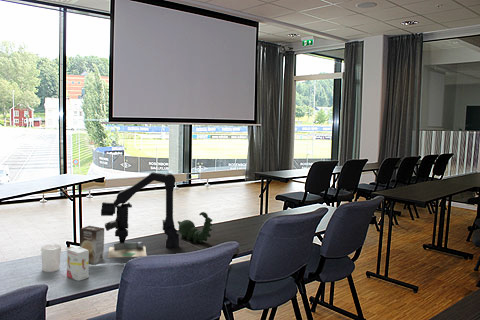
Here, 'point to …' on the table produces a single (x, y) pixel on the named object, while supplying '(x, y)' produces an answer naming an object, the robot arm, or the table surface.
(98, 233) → the coffee box
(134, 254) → the dial board
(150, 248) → the table surface
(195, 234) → the toy figurine
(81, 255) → the ink box
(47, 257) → the white cup
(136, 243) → the grey long bar
